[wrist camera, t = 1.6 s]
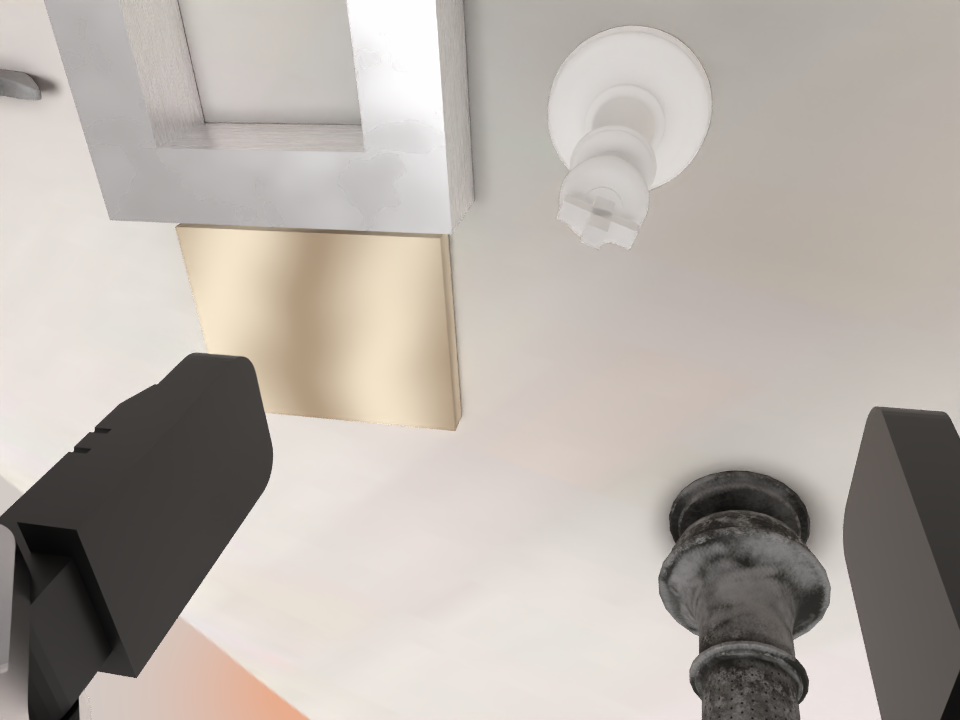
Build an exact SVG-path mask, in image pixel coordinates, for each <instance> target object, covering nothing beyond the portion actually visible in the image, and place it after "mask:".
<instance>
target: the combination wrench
mask: <svg viewBox="0 0 960 720" xmlns="http://www.w3.org/2000/svg"><path fill="white" fill-rule="evenodd" d="M0 96H8V97H13V98H18V99H27V100H40V99H41V93H40V90H39V87H38V86H37V84H36V83H35V82H34V81H33V79H32V78H31V77H29V76H28V75H27V74H26V73H24V72H18V71H10V70H2V69H0Z"/></svg>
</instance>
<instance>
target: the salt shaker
mask: <svg viewBox="0 0 960 720" xmlns="http://www.w3.org/2000/svg"><path fill="white" fill-rule="evenodd" d="M669 520H670V531H671V534H672V536H673V539H674V541H675V543H676V544H675V546H674V547H673V548H672V551H671V553H670V554H669V555H668V557H667V558H666V559H665V561H664V562H663V565H662V568H661V571H660V574H659V578H658V580H659V594H660V597H661V599H662V601H663V603H664V606H665V608H666V610H667V611H668V612H669V613H670V614H671V615H672V617H673V618H674V619H675V620H676V621H677V622H678V623H679V624H681V625H682V626H683V627H685V628H686V629H688V630H689V631H690V632H692V633H693V634H695V635H698V636H699V655H698V656H697V657H696V658H695V660H694V661H693V663H692V665H691V668H690V683H691V686H692V688H693V690H694V692H695V693H696V694H697V695H698V696H699V698H700V699H701V700H702V720H800V713H799V704H800V703H801V702H802V701H803V700H804V698H805V696H806V694H807V692H808V686H809V679H808V676H807V673H806V671H805V669H804V667H803V666H802V665H801V664H800V662H799V661H798V660H797V659H796V658H795V651H794V643H793V640H794V639H796V638H798V637H800V636H801V635H803V634H805V633H807V632H808V631H810V630H811V629H812V628H813V627H814V626H815V625H816V624H817V623H818V622H819V621H820V620H821V619H822V618H823V616H824V614H825V612H826V610H827V608H828V606H829V603H830V591H831V587H830V583H829V580H828V577H827V574H826V571H825V569H824V568H823V566H822V565H821V564H820V562H819V561H818V560H817V558H816V557H815V555H813V554H812V553H811V551H810V550H809V549H808V547H807V546H806V545H805V543H806V541H807V539H808V537H809V530H810V519H809V516H808V513H807V510H806V506H805V505H804V503H803V502H802V501H801V499H800V498H799V497H798V495H797V494H796V493H795V492H794V491H792V490H791V489H790V488H789V487H787V486H786V485H785V484H783V483H782V482H779V481H777V480H775V479H773V478H771V477H768V476H766V475H761V474H757V473H752V472H748V471H727V472H721V473H716V474H710V475H708V476H706V477H703V478H701V479H699V480H696V481H694V482H693V483H691V484H690V485H689V486H688V487H686V488H685V489H684V490H682V491H681V493H680V494H679V495H678V497H677V498H676V499H675V501H674V502H673V505H672V508H671V512H670V515H669Z"/></svg>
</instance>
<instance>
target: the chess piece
mask: <svg viewBox="0 0 960 720" xmlns="http://www.w3.org/2000/svg"><path fill="white" fill-rule="evenodd" d="M711 114H712V95H711V89H710V84H709V81H708V78H707V75H706V73H705V71H704V68H703V67H702V65H701V63H700V61H699V60H698V58H697V57H696V56H695V55H694V53H693V52H692V51H691V50H690V49H689V48H688V47H687V46H686V45H685V44H684V43H682V42H681V41H680V40H678V39H677V38H675V37H674V36H672V35H670V34H668V33H666V32H663V31H661V30H658V29H655V28H650V27H645V26H621V27H616V28H612V29H608V30H605V31H603V32H600V33H598V34H596V35H594V36H592V37H590V38H589V39H587V40H586V41H584V42H583V43H581V44H580V45H579V46H578V47H577V48H576V49H575V50H574V51H572V53H571V54H570V55H569V56H568V57H567V58H566V60H565V61H564V62H563V64H562V65H561V67H560V69H559V70H558V72H557V74H556V76H555V79H554V81H553V84H552V87H551V91H550V95H549V101H548V126H549V132H550V136H551V140H552V143H553V145H554V148H555V150H556V152H557V154H558V156H559V157H560V159H561V160H562V162H563V163H564V164H565V166H566V167H567V168H568V169H569V170H570V172H569V173H568V175H567V176H566V178H565V179H564V181H563V183H562V186H561V189H560V194H559V207H560V209H559V212H558V214H557V217H556V219H557V220H560V221H562V222H565V223H566V224H567V225H568V227H569V228H570V229H571V230H572V231H573V232H574V233H575V234H577V235H578V236H579V237H581V239H580V242H581V243H583V244H585V245H588V246H590V247H592V248H595V249H597V250H599V249H600V247H601V245H602V243H614V244H616V245H619V246H621V247H623V248H626V249H628V250H630V248H631V246H632V244H633V242H634V240H635V238H636V236H637V234H638V231H639V227H640V226H641V224H642V223H643V221H644V219H645V217H646V215H647V212H648V208H649V190H651V189H654V188H657V187H659V186H661V185H663V184H665V183H667V182H669V181H670V180H672V179H673V178H675V177H676V176H677V175H678V174H680V173H681V172H682V171H683V170H684V169H685V168H686V167H687V166H688V165H689V164H690V162H691V161H692V160H693V159H694V157H695V156H696V154H697V153H698V151H699V149H700V147H701V145H702V143H703V142H704V139H705V137H706V135H707V132H708V129H709V125H710V121H711Z"/></svg>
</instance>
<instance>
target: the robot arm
mask: <svg viewBox="0 0 960 720" xmlns="http://www.w3.org/2000/svg"><path fill="white" fill-rule="evenodd" d="M272 463H273V448H272V442H271V438H270V433H269V429H268V424H267V420H266V415H265V411H264V407H263V402H262V398H261V393H260V389H259V384H258V380H257V375H256V371H255V368H254V366H253V364H252V362H251V361H250V360H249V359H248V358H246V357H244V356H233V355H220V354H207V353H192V354H189V355H188V356H187V357H185V358H184V359H183V360H182V361H181V362H180V363H179V364H178V365H177V366H176V367H175V368H174V369H173V370H172V371H171V372H170V373H169V374H168V375H167V376H166V377H165V378H164V379H163V380H162V381H161V382H160V383H159V384H157V385H156V384H155V385H153V386H151V387H149V388H147V389H145V390H144V391H142V392H140V393H138V394H136V395H135V396H133V397H131V398H129V399H127V400H126V401H124V402H122V403H120V404H119V405H118V406H117V407H116V408H115V409H114V410H113V411H112V412H111V413H109V414H108V415H107V416H106V417H105V418H104V419H103V420H102V421H101V422H100V423H99V424H98V425H97V426H96V427H95V431H94V433H93V432H89V433H88V434H87V435H86V436H85V437H84V438H83V439H82V440H81V441H80V442H79V443H78V444H77V445H76V446H75V447H74V452H68V453H67V454H66V455H65V456H64V457H63V458H62V459H61V460H60V461H59V462H58V463H56V464H55V465H54V466H53V467H52V468H51V469H50V470H49V471H48V472H47V473H46V474H45V475H44V476H43V477H42V478H41V479H40V480H38V481H37V482H36V483H35V484H34V485H33V486H32V487H31V488H30V489H29V490H28V491H27V492H26V493H25V494H24V495H23V496H22V497H21V498H19V499H18V500H17V501H16V502H15V503H14V504H13V505H12V506H11V507H10V508H9V509H8V510H7V511H6V512H5V513H4V514H3V515H2V516H1V517H0V720H91V706H90V700H89V698H88V696H87V694H86V692H85V688H86V686H87V685H88V684H89V682H90V681H91V680H92V678H93V677H94V675H95V674H96V673H97V671H99V672H105V673H111V674H116V675H122V676H128V677H134V678H137V677H138V675H139V674H140V672H141V671H142V669H143V668H144V666H145V665H146V663H147V662H148V660H149V659H150V658H151V656H152V654H153V653H154V652H155V650H156V649H157V647H158V646H159V644H160V643H161V641H162V640H163V638H164V637H165V635H166V634H167V632H168V631H169V630H170V628H171V627H172V625H173V624H174V622H175V621H176V619H177V618H178V616H179V615H180V613H181V612H182V610H183V609H184V608H185V606H186V605H187V603H188V602H189V600H190V599H191V597H192V596H193V594H194V593H195V591H196V590H197V588H198V587H199V585H200V584H201V583H202V581H203V580H204V578H205V577H206V575H207V574H208V572H209V571H210V569H211V568H212V566H213V565H214V563H215V562H216V561H217V559H218V558H219V556H220V555H221V553H222V552H223V550H224V549H225V547H226V546H227V544H228V543H229V541H230V540H231V538H232V537H233V536H234V534H235V533H236V531H237V530H238V528H239V527H240V525H241V524H242V522H243V521H244V519H245V518H246V516H247V515H248V513H249V512H250V511H251V509H252V508H253V506H254V505H255V503H256V502H257V500H258V499H259V497H260V496H261V494H262V493H263V491H264V490H265V488H266V486H267V484H268V481H269V478H270V474H271V470H272ZM843 545H844V555H845V560H846V565H847V569H848V574H849V578H850V582H851V587H852V591H853V596H854V600H855V604H856V609H857V613H858V618H859V622H860V626H861V631H862V635H863V640H864V644H865V648H866V653H867V657H868V662H869V666H870V670H871V675H872V679H873V684H874V688H875V692H876V697H877V701H878V706H879V710H880V714H881V719H882V720H960V438H959V436H958V434H957V431H956V429H955V427H954V425H953V423H952V421H951V419H950V417H949V416H948V415H947V414H946V413H945V412H940V411H927V410H914V409H901V408H888V407H874V408H873V409H872V410H871V411H870V413H869V415H868V418H867V421H866V425H865V429H864V433H863V437H862V441H861V445H860V449H859V454H858V458H857V462H856V466H855V470H854V474H853V478H852V482H851V487H850V491H849V495H848V499H847V503H846V508H845V514H844V524H843Z"/></svg>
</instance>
